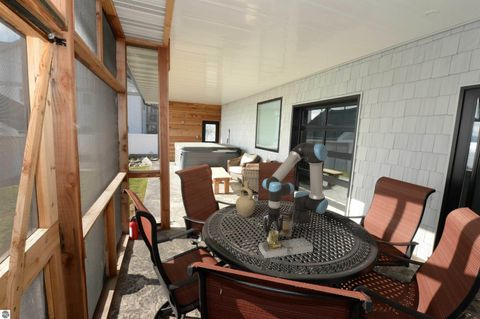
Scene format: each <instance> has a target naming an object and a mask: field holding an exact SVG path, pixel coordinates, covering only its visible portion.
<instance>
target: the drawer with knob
mask: <svg viewBox="0 0 480 319" xmlns="http://www.w3.org/2000/svg"><path fill="white" fill-rule="evenodd" d="M278 241H279V240H278ZM278 241H277V240H275V241H269V249H277V248H281V244H280V243H279V242H278Z"/></svg>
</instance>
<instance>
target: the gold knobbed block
mask: <svg viewBox="0 0 480 319" xmlns="http://www.w3.org/2000/svg"><path fill="white" fill-rule="evenodd" d="M269 232H270V241H275V240H277V241H279V236H278V234H277V233H276V230H270V231H269Z"/></svg>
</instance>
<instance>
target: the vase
mask: <svg viewBox="0 0 480 319" xmlns="http://www.w3.org/2000/svg"><path fill="white" fill-rule="evenodd" d="M243 185H244V186H242V187H241V188H240V189H239V197H238V198H237V199H236V201H235V207H236V211H237V212H238V214H239V216H240V217H242V218H248V217H250V216H252V215H253V213H254V211H255V210H256V207H257V206H256V205H257V203H256V200H255V198H253V197H254V193H253V191H252V189H250V188H249V185H250V180H243ZM244 191H246V192H247V194H248V195H245V193H244Z"/></svg>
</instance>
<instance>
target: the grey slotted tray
mask: <svg viewBox="0 0 480 319" xmlns="http://www.w3.org/2000/svg"><path fill="white" fill-rule="evenodd" d="M278 242H279V243H280V244H281V248H277V249H269V242H268V241H266V242H259V243H258V250H259V251H260V253H261V254H262V256H263V258H264V259H270V258H277V257H285V256H292V255H299V254H307V252H308V253H313V250H314V245H313V244H312V243H311V242H309V241H308V240H307V239H306V238H305V237H301V238H292V239H284V240H278Z"/></svg>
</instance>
